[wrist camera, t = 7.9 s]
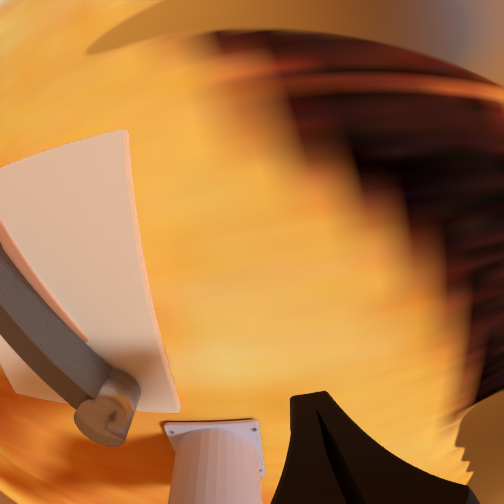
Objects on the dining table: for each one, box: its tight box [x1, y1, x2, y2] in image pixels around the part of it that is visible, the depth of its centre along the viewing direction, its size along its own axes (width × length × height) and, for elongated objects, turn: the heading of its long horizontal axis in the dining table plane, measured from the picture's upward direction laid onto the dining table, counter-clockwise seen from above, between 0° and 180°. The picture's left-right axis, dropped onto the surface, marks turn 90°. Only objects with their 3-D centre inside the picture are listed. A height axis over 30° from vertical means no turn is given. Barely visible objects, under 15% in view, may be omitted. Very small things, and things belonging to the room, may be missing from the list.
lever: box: [0, 242, 141, 447], centre depth 15 cm, size 17×4×5 cm, turn 42°
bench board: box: [0, 129, 181, 413], centre depth 17 cm, size 20×18×1 cm
